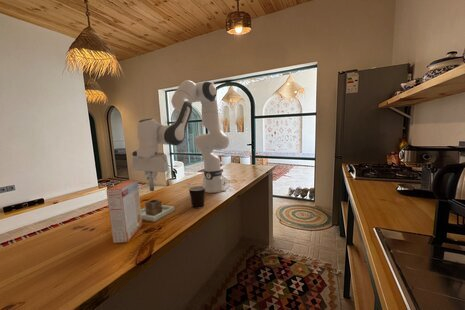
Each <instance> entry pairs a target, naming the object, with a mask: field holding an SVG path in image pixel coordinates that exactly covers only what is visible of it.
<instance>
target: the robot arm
mask: <svg viewBox="0 0 465 310" xmlns="http://www.w3.org/2000/svg"><path fill="white" fill-rule="evenodd" d="M217 90H218V89H217V86H216V84H215V83H214V82H213V81H209V80H208V81H200V82H197V83H195V82H194V81H192V80H189V79H188V80H187V79H185V80H183V81H182V83H180V84H179V86H178V87H177V88H176V90H175V91H174V93H173V95H172V97H171V101H170V102H171V105H172V107H173V108H174V110H176V111H177V112H178V113H177V116H176V118H175V121H174V122H173V123H171V124H170V125H164V124H161V123H159V122H158V121H157V120H156V119H155V118H145V119H140V120H139V121H138V122H137V132H136V133H137V139H138V149H135V150H133V151H131V165H132V169H133V170H134V171H135V172H143V175H144V176H145V181H149V174H148V171H149V172H152V174H153V177H151V180H152V181H154V182H155V181H156V180H157V177H158V174H159V173H166V172H168V171H169V170H170V167H169V162H168V158H167V155H166V153H164V152H160V151H159V149H160V147H159V145H166V146H167V145H169V146H180V145H182V143H183V142H184V139H185V137H186V130H187V127H188V124H189V121H190V118H191V115H192V112H193V105H192V104H193V103H200V104H201V124H202V126H203V127H204V128H205V129H207V131H208V133H202V134H198V135H196V136H195V138H194V141H193V143H194V146H195V148H196V149H197V150H198V151H199V152H200V153H201V156H202V158H203V166H204V170H203V176H204V177H203V178H202V186H203V187H205V193H214V194H215V193H220V192H226V191H227V190H228V189H229V188H230V186H231V184H230V183H228V182H227V177H226V176H224V174H223V173H224V168H221V158H220V156H218V155H217V154H216V153H215V151H220V150H221V151H222V150H226V149H227V148H228V147H229V145H230V139H229V137H228V135H227V134H225V132H223V130H222V129H221V128H222V127H221V125H220V120H219V118H220V117H219V107H218V102H217V98H216V97H217V94H218V91H217Z"/></svg>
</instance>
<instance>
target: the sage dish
mask: <svg viewBox="0 0 465 310" xmlns="http://www.w3.org/2000/svg"><path fill="white" fill-rule="evenodd" d="M173 212H175V206H172V205H164V204H162V212H160V213H159V214H157V215H155V216H153V215H147V214H146V209H145V207H144V208H142V209H141V217H142V221H147V222H152V223H155V222H157V221H159V220H161V219H162V218H165V217H166V216H168V215H169V214H171V213H173Z"/></svg>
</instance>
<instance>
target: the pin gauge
mask: <svg viewBox="0 0 465 310" xmlns="http://www.w3.org/2000/svg"><path fill="white" fill-rule="evenodd" d="M148 174H149V180H148V184H149V186H148V187H149V191H150V192H154V191H155V183H154V182H155V181H152V180H151V177H153V174H152V172H149V171H148Z"/></svg>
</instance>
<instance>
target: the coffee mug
mask: <svg viewBox="0 0 465 310" xmlns="http://www.w3.org/2000/svg"><path fill="white" fill-rule="evenodd" d="M188 191H189V197H190V203H191V208H193V209H201V208H203V207H204V206H205V195H206V192H205V187H203V185H197V186H192V187H189V189H188Z"/></svg>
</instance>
